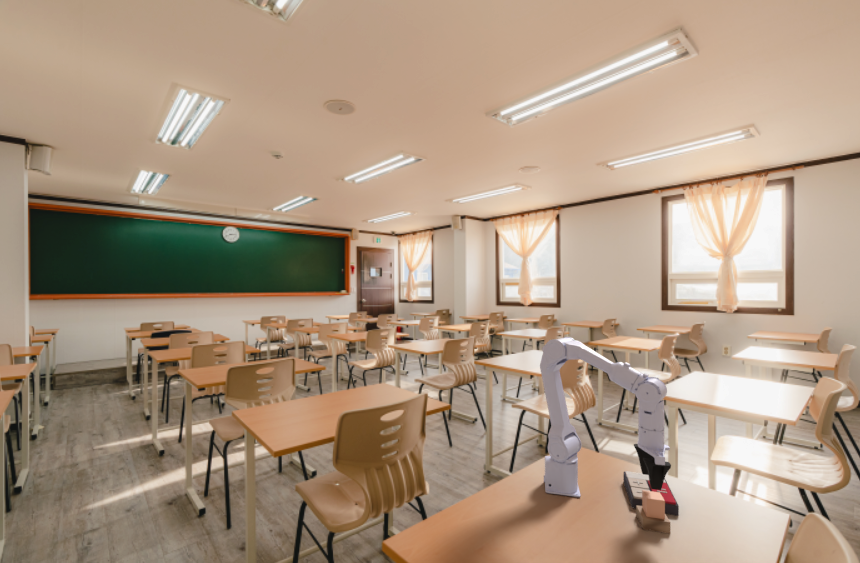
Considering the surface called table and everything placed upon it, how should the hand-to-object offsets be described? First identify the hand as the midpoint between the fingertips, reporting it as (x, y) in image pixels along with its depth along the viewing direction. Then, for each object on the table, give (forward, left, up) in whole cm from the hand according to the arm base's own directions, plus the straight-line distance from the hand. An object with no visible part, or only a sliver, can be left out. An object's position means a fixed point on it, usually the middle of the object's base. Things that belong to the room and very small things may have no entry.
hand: (651, 481), depth 98 cm
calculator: (+3, +13, -11) cm, 17 cm away
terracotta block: (0, 0, -8) cm, 8 cm away
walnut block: (0, 0, -11) cm, 11 cm away
